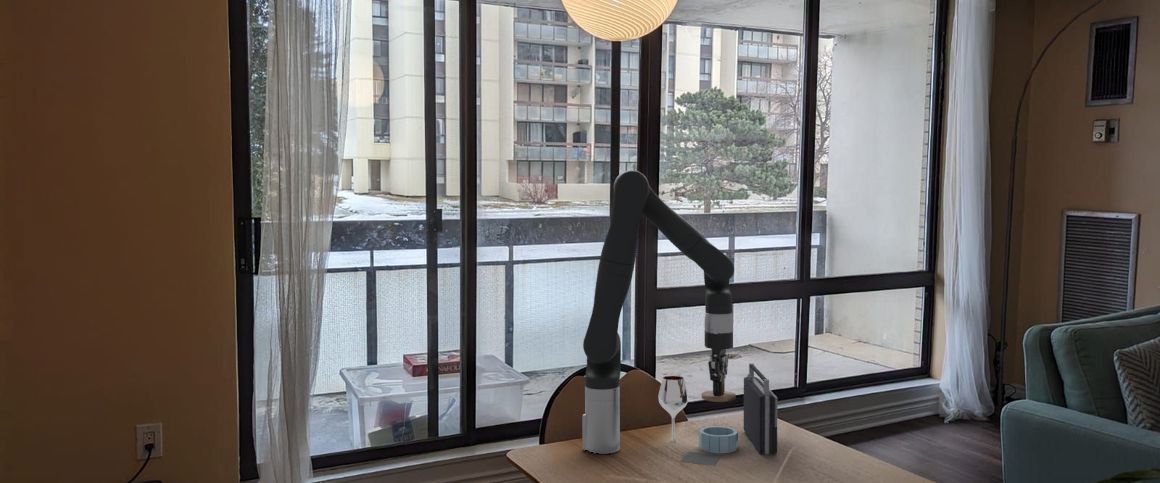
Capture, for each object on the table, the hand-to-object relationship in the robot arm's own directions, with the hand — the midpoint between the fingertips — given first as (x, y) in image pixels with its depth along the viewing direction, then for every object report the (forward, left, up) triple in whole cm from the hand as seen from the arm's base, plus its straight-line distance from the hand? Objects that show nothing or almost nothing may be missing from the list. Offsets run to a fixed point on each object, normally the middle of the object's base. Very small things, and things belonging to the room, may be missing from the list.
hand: (718, 393), depth 226 cm
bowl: (0, 0, -15) cm, 15 cm away
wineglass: (-13, +2, -15) cm, 20 cm away
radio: (+9, +10, -15) cm, 21 cm away
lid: (0, 0, -1) cm, 1 cm away
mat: (-2, -11, -15) cm, 19 cm away
